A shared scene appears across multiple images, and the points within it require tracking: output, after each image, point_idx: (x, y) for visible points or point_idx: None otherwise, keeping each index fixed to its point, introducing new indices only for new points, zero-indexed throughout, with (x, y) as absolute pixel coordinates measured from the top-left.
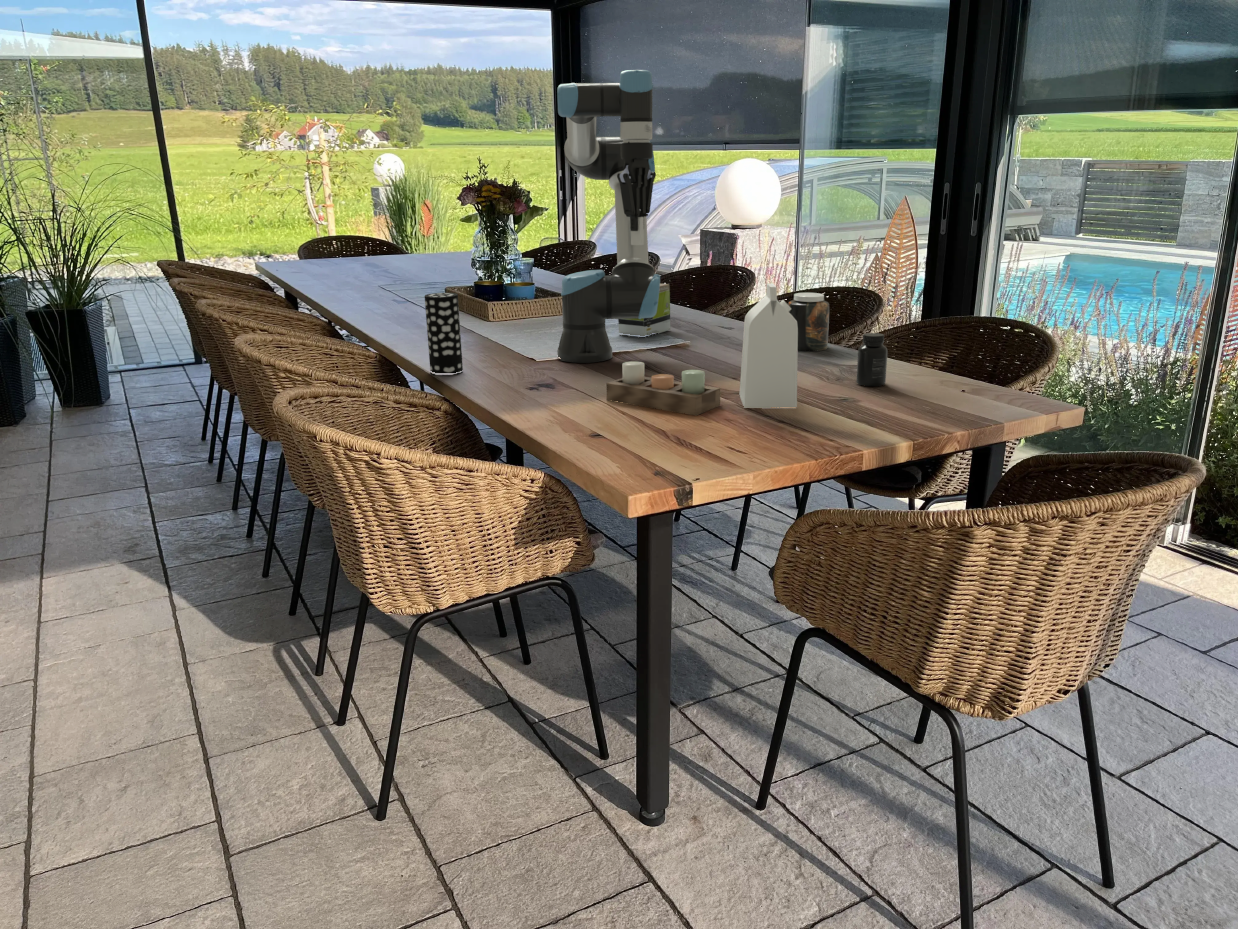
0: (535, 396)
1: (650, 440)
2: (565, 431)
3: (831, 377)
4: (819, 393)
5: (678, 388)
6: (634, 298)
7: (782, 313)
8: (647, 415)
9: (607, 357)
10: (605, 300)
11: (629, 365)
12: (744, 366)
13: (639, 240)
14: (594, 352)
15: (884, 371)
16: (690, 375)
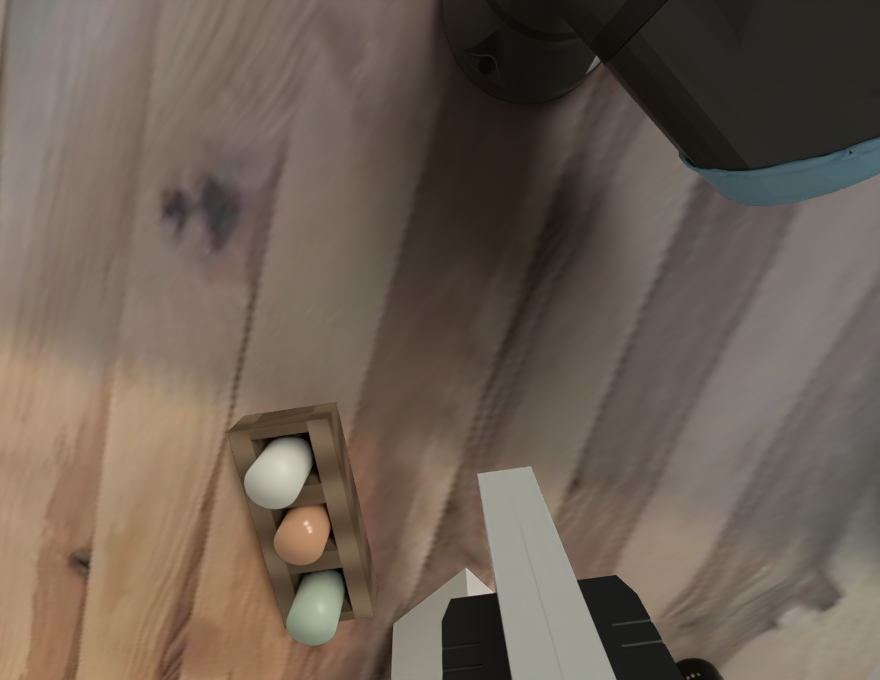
0: (139, 274)
1: (138, 633)
2: (49, 512)
3: (701, 608)
4: None
5: (310, 566)
6: (688, 136)
7: None
8: (231, 542)
9: (545, 99)
10: (593, 33)
11: (252, 490)
12: (422, 669)
13: (493, 579)
14: (502, 82)
15: None
16: (290, 633)
